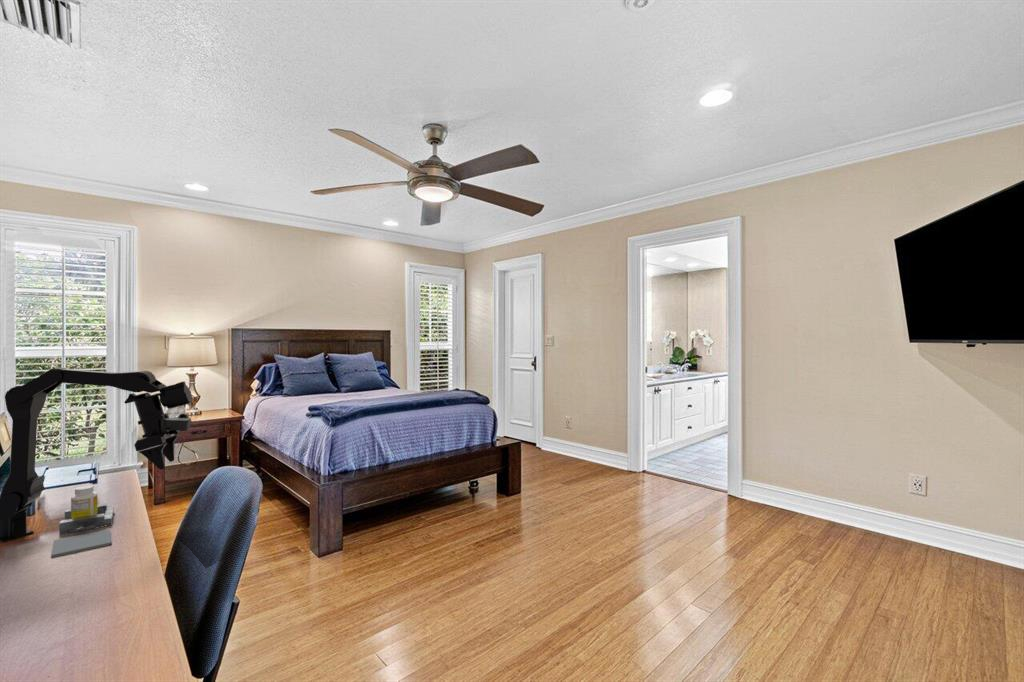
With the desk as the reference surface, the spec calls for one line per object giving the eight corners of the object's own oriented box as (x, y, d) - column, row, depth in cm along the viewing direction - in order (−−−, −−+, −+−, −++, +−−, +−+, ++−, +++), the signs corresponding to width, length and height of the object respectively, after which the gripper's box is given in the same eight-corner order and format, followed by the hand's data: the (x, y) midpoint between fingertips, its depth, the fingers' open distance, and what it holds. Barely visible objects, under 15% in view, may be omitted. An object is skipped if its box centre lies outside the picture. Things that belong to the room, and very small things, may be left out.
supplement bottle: (89, 518, 139) (89, 483, 138) (102, 521, 137) (102, 485, 137) (66, 525, 133) (66, 489, 133) (78, 528, 131) (78, 491, 131)
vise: (110, 530, 130) (110, 519, 130) (56, 540, 124) (56, 528, 124) (113, 512, 144) (113, 502, 144) (65, 520, 137) (65, 509, 137)
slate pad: (53, 542, 122) (53, 540, 122) (109, 531, 129) (110, 529, 129) (51, 557, 114) (51, 555, 114) (111, 544, 121) (111, 542, 121)
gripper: (174, 409, 131) (190, 463, 133) (191, 401, 149) (206, 449, 150) (126, 422, 127) (143, 477, 129) (149, 412, 145) (165, 460, 146)
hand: (167, 465), depth 139 cm, fingers open, 9 cm apart
